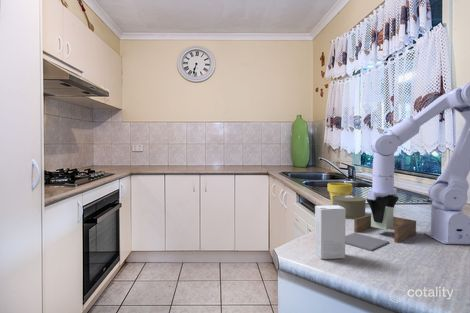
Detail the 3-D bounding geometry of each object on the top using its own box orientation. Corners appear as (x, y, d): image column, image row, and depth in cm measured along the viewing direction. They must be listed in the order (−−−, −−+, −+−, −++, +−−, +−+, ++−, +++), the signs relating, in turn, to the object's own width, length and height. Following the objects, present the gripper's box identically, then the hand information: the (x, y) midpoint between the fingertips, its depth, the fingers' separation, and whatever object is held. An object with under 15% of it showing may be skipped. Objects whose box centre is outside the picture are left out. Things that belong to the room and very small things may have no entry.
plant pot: (328, 202, 135) (328, 181, 134) (352, 204, 131) (352, 182, 131) (326, 207, 125) (326, 184, 125) (352, 209, 121) (352, 185, 121)
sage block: (393, 227, 87) (393, 207, 87) (386, 229, 84) (386, 209, 84) (378, 224, 91) (378, 204, 90) (370, 226, 88) (371, 206, 88)
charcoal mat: (389, 242, 79) (389, 241, 79) (371, 251, 73) (371, 249, 73) (354, 234, 87) (354, 232, 87) (335, 240, 81) (335, 239, 81)
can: (329, 217, 108) (330, 199, 107) (333, 210, 118) (334, 194, 118) (365, 221, 103) (365, 202, 102) (365, 214, 113) (366, 196, 113)
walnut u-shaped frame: (415, 233, 88) (416, 220, 87) (397, 242, 80) (397, 228, 80) (374, 224, 97) (374, 213, 97) (354, 231, 90) (354, 219, 89)
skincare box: (337, 252, 72) (338, 204, 72) (346, 259, 68) (347, 208, 67) (313, 253, 72) (314, 204, 71) (320, 260, 67) (321, 208, 67)
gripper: (381, 173, 94) (380, 214, 95) (357, 176, 85) (356, 221, 86) (404, 175, 89) (403, 219, 89) (382, 178, 80) (381, 227, 80)
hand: (382, 220), depth 87 cm, fingers closed on sage block, 4 cm apart
